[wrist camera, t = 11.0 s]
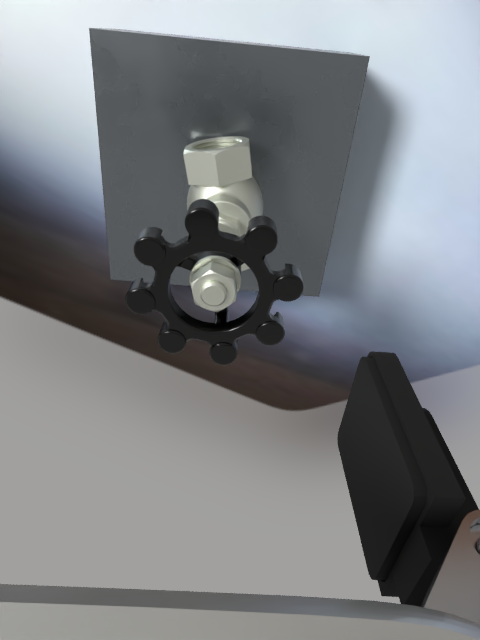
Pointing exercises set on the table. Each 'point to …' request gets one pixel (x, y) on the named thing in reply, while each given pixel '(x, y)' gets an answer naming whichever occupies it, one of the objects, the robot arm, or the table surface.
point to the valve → (216, 255)
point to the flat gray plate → (219, 121)
